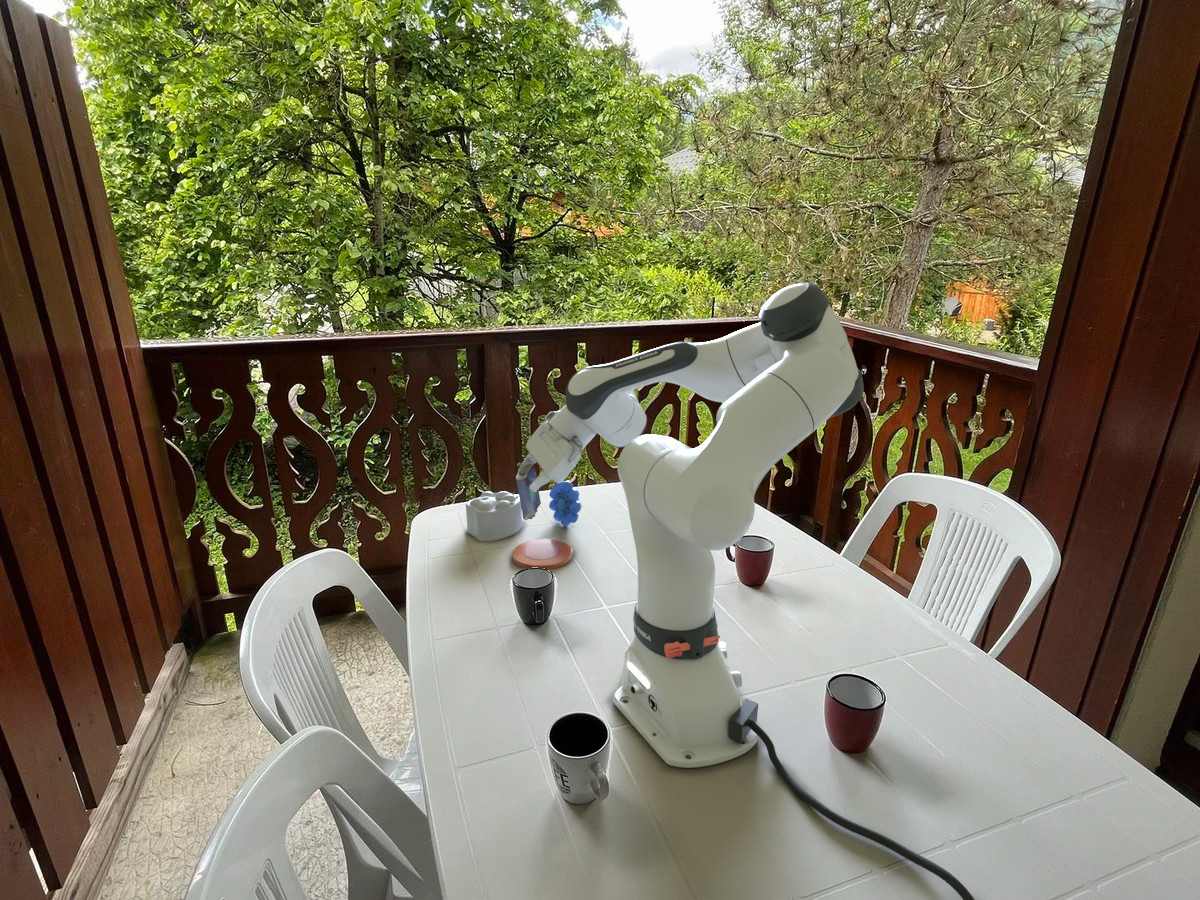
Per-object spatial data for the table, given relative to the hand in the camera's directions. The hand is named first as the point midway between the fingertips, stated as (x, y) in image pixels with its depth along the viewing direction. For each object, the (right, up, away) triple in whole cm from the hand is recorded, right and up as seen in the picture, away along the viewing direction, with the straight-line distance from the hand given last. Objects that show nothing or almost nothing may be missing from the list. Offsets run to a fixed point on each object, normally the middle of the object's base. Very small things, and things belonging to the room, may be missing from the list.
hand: (525, 481), depth 130 cm
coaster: (+3, -17, +10) cm, 20 cm away
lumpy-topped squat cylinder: (-10, -13, +23) cm, 28 cm away
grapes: (+8, -12, +26) cm, 29 cm away
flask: (+1, -6, +2) cm, 7 cm away
